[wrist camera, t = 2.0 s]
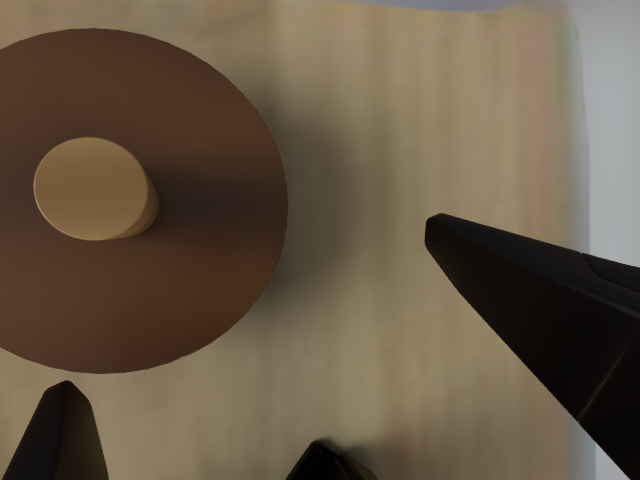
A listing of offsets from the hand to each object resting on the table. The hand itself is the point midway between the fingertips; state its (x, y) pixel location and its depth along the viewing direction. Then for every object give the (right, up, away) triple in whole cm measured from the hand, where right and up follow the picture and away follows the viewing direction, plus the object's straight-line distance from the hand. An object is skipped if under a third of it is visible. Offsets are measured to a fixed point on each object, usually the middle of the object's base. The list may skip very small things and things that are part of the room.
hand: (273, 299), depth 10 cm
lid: (-7, +3, +8) cm, 12 cm away
